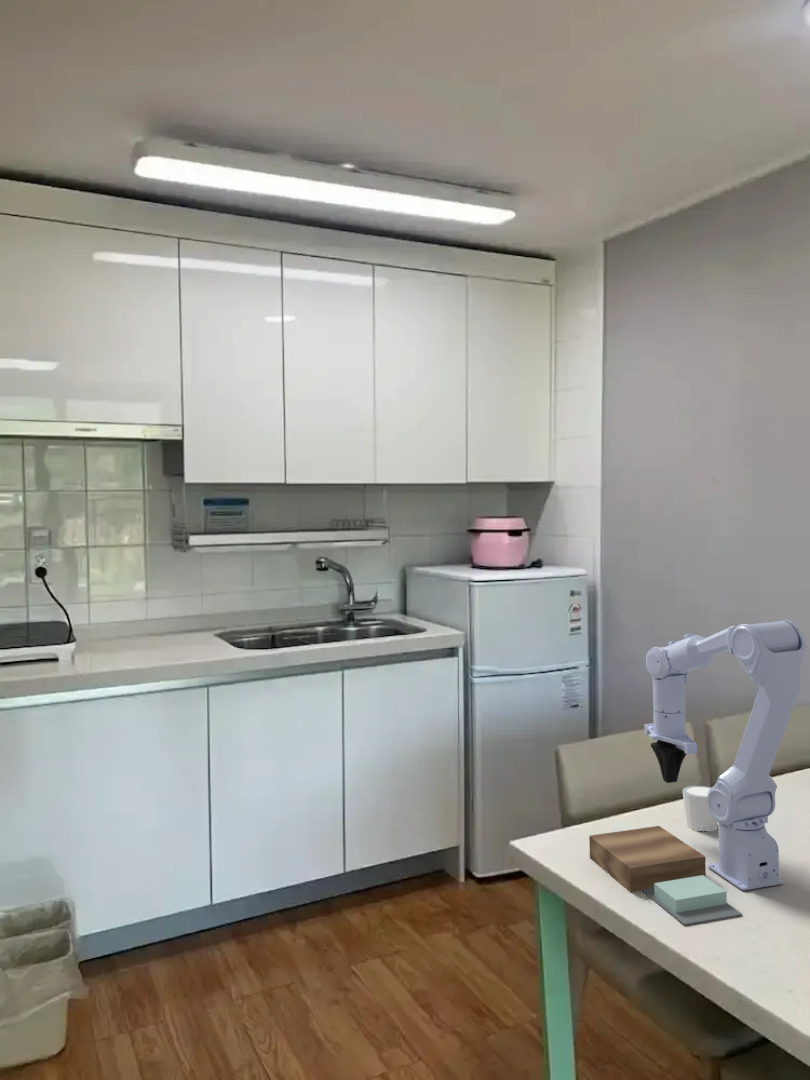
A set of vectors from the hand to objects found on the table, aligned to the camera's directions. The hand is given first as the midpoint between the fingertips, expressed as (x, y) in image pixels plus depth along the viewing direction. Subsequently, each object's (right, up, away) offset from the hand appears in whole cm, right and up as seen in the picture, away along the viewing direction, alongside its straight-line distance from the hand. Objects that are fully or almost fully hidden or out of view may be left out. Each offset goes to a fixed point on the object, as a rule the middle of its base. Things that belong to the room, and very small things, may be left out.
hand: (670, 781), depth 156 cm
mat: (-5, -12, -26) cm, 29 cm away
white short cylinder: (+8, -10, +4) cm, 13 cm away
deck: (-8, -11, -13) cm, 19 cm away
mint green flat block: (-5, -9, -26) cm, 28 cm away
